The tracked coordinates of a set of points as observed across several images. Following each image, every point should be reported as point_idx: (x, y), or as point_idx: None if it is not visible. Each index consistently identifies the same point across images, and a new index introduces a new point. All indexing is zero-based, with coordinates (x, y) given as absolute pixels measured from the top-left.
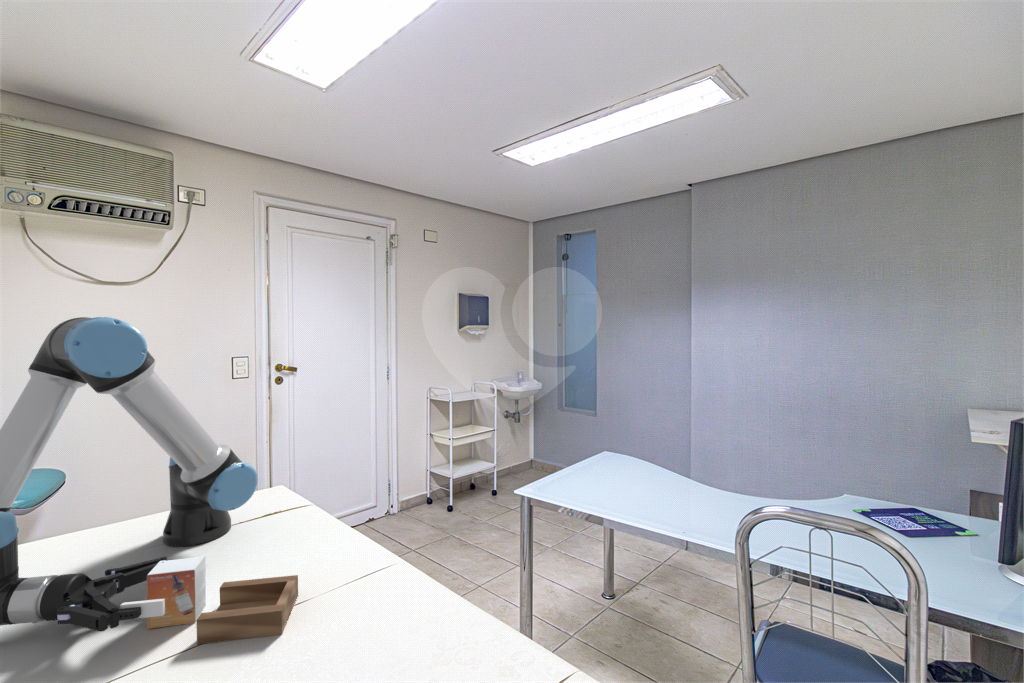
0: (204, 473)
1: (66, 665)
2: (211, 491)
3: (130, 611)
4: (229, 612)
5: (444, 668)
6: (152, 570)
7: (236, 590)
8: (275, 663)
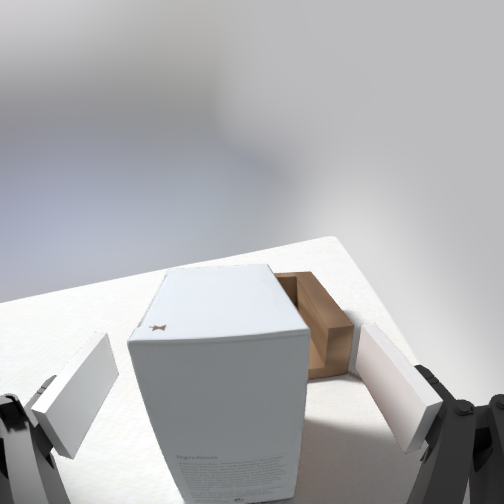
0: None
1: None
2: None
3: (433, 376)
4: (321, 302)
5: (340, 250)
6: (258, 328)
7: None
8: (362, 299)
